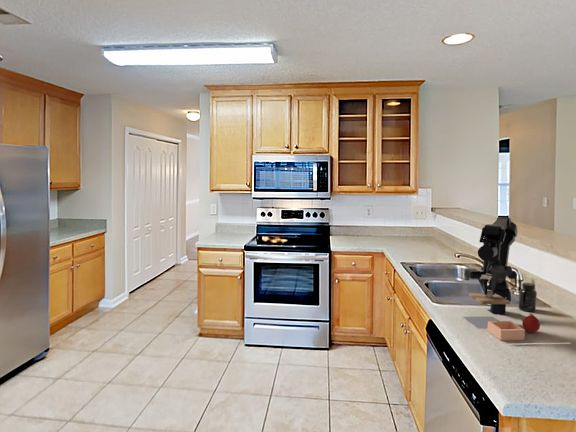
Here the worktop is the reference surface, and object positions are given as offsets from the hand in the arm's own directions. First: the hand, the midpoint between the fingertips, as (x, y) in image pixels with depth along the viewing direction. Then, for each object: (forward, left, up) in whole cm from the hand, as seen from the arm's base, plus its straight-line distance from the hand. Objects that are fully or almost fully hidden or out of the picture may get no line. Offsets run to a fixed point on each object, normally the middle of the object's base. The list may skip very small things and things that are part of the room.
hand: (489, 294), depth 169 cm
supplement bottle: (-18, +28, -13) cm, 36 cm away
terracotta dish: (+12, 0, -13) cm, 18 cm away
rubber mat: (-2, 0, -13) cm, 13 cm away
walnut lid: (0, 0, -2) cm, 2 cm away
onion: (+9, +12, -13) cm, 20 cm away
